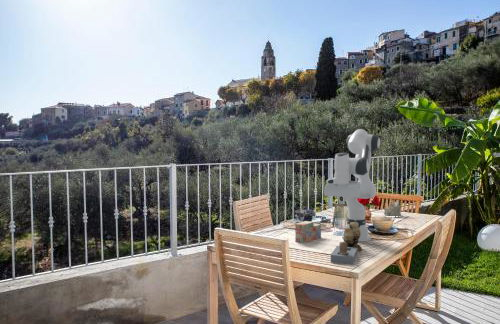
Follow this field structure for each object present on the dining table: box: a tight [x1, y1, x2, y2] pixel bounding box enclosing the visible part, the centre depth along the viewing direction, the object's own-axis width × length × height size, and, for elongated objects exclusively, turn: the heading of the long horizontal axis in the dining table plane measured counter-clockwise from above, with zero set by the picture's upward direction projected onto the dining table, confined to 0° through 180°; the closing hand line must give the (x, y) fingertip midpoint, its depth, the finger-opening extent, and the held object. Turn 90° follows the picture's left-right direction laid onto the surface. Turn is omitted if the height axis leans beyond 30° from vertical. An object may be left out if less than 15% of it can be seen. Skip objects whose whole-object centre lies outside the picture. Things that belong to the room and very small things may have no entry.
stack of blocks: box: [294, 220, 322, 244], centre depth 267 cm, size 21×6×12 cm, turn 137°
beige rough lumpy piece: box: [342, 222, 363, 253], centre depth 241 cm, size 18×12×17 cm, turn 146°
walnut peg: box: [339, 241, 347, 255], centre depth 218 cm, size 4×4×10 cm
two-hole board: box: [330, 245, 359, 265], centre depth 223 cm, size 20×12×4 cm, turn 158°
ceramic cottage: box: [383, 199, 402, 217], centre depth 351 cm, size 16×16×15 cm
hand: (341, 204), depth 231 cm, fingers closed
